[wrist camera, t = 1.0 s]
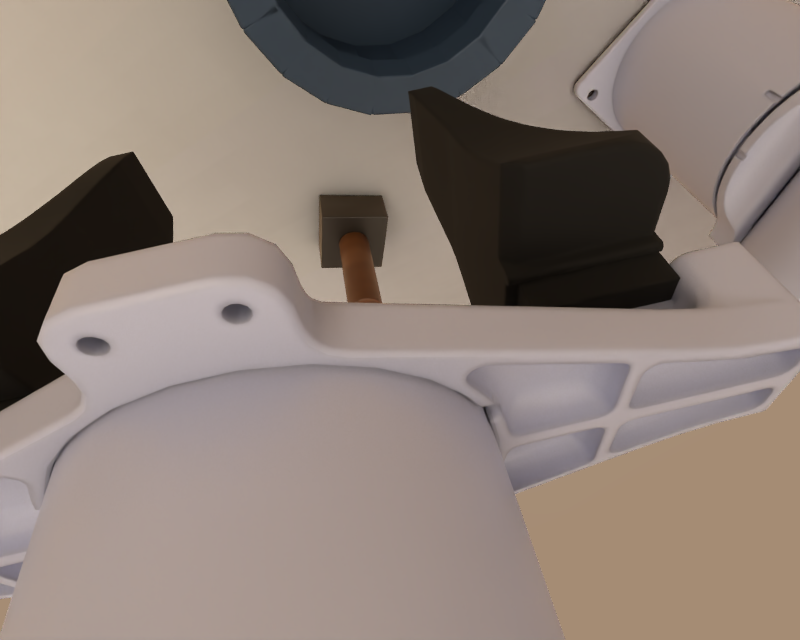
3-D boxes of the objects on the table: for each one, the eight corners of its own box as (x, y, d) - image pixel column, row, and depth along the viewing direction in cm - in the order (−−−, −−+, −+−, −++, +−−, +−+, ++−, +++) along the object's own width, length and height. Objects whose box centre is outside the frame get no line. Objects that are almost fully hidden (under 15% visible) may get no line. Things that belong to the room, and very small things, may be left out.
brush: (382, 195, 26) (406, 282, 21) (376, 244, 29) (397, 332, 24) (319, 194, 25) (330, 285, 21) (318, 245, 28) (328, 336, 23)
